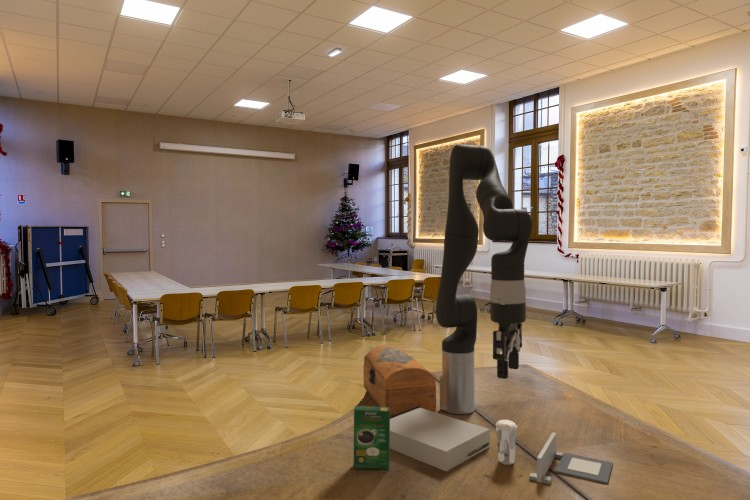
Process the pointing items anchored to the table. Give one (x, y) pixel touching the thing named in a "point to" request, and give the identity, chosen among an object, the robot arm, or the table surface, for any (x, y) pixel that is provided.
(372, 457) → the coffee box
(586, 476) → the mat
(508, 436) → the milkshake
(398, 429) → the disc drive
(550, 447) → the divider wall
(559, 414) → the table surface
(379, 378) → the wooden box
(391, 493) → the table surface
